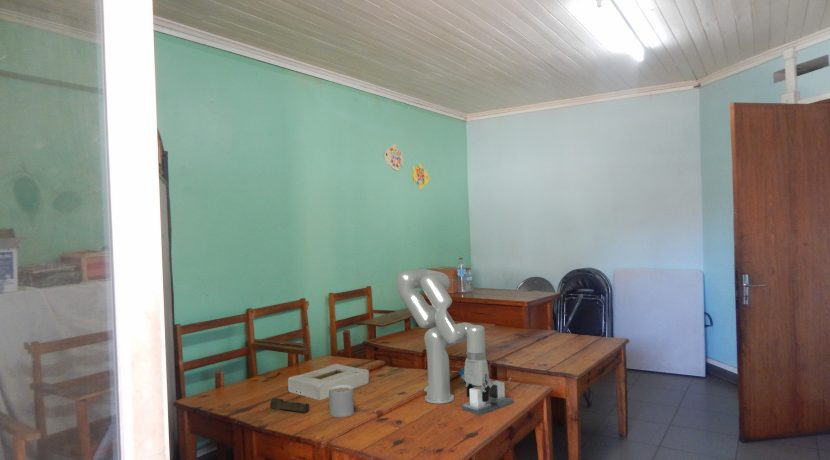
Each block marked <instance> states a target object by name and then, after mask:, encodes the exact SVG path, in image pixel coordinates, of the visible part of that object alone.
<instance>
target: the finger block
mask: <svg viewBox="0 0 830 460" xmlns="http://www.w3.org/2000/svg"><path fill="white" fill-rule="evenodd" d="M469 390H470V397H469V402H470V405H472V406H475V407H480V406H483V405H486V402H483V401H482V392H483V390H482V387H481V386H473V388H471V389H469Z"/></svg>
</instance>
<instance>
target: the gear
mask: <svg viewBox="0 0 830 460" xmlns="http://www.w3.org/2000/svg"><path fill="white" fill-rule="evenodd" d="M464 368H465V367H462V368H460V370H459V373H458V374H459V375H460V380H463V378H462V375H463V374H464ZM461 383H462V384H463V385H465V383H464V381H462V382H461ZM472 386H473V387H475V385H473V384H472Z"/></svg>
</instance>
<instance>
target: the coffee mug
mask: <svg viewBox="0 0 830 460" xmlns="http://www.w3.org/2000/svg"><path fill="white" fill-rule="evenodd" d="M354 399H355V398H354V388H353V387H352V386H348V385H339V386H334V387H331V388H330V389H329V397H328V403H329V404H328V405H329V409H328V410H329V415H330V417H333V418H345V417H349V416H352V415H353V414H355V405H354V404H355V403H354V402H355V400H354Z"/></svg>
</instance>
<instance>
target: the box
mask: <svg viewBox="0 0 830 460" xmlns="http://www.w3.org/2000/svg"><path fill="white" fill-rule="evenodd" d="M369 372H370V371H369V370H368V369H366V368H365V369H363V368H357V367H353V366H348V365H343V364H339V363H333V364H331V365H327V366H325V367H322V368H320V369H319V368H318V369H317V370H312V371H309V372H305V373H302V374H296V375H293V376H290V377H287V378H288V379H287V389H288V392H289V393H292V394H295V395H298V396H299V395H300V396H303V397H307V398H310V399H315V400H318V401H322V400H324V399H327V398H329V389H330V388H331V387H334V386H339V385H348V386H352V387H353V389H355V388H358V387H361V386H364V385H366V384H369V381H370V373H369ZM296 391H297V392H296ZM300 392H301V393H300Z"/></svg>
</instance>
